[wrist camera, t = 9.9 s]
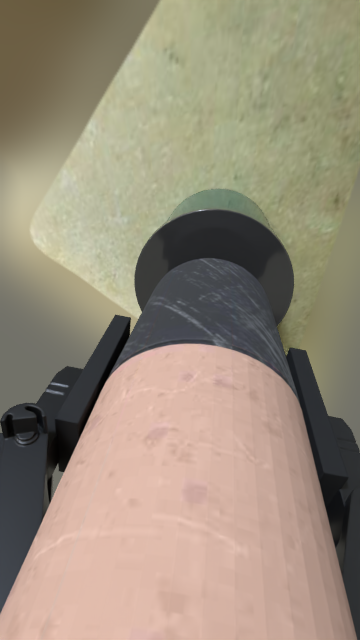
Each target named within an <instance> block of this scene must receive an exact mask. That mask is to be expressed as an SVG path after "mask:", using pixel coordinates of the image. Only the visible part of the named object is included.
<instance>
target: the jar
mask: <svg viewBox="0 0 360 640" xmlns="http://www.w3.org/2000/svg"><path fill="white" fill-rule="evenodd" d="M203 258H214V259H221V260H226V261H229V262H232V263H235V264H237V265H239V266H241V267H242V268H244V269H245V270H247V271H248V272H250V273H251V274H252V275H253V276H254V277H255V278H256V279H257V280H258V281H259V283H260V284H261V285H262V287H263V289H264V291H265V293H266V295H267V298H268V300H269V303H270V306H271V309H272V312H273V316H274V319H275V322H276V325H277V326H278V325H279V323H280V322H281V321H282V319H283V318H284V316H285V314H286V312H287V310H288V308H289V306H290V303H291V299H292V296H293V289H294V274H293V269H292V264H291V261H290V258H289V255H288V253H287V251H286V249H285V247H284V245H283V244H282V242H281V241H280V239H279V238H278V237H277V235H276V234H275V233H274V232H273V231H272V230H271V228H270V226H269V223H268V221H267V219H266V217H265V215H264V213H263V212H262V210H261V209H260V208H259V207H258V206H257V205H256V204H255V203H254V202H253V201H252V200H251V199H249V198H248V197H246V196H244V195H242V194H240V193H238V192H235V191H231V190H226V189H211V190H205V191H202V192H199V193H196V194H194V195H192V196H190V197H189V198H187V199H185V200H184V201H183V202H182V203H181V204H179V205H178V207H177V208H176V209H175V210H174V211H173V213H172V214H171V216H170V217H169V219H168V220H167V222H166V223H164V224H163V225H162V226H161V227H160V228H158V229H157V230H156V231H155V232H154V234H153V235H152V236H151V237H150V238H149V240H148V241H147V243H146V244H145V246H144V247H143V249H142V251H141V254H140V256H139V258H138V261H137V265H136V270H135V292H136V297H137V300H138V304H139V306H140V308H141V311H142V312H143V310H144V308H145V306H146V304H147V302H148V300H149V298H150V296H151V295H152V293H153V291H154V289H155V287H156V286H157V284H158V283H159V282H160V280H161V279H162V278H163V277H164V276H165V275H166V274H167V273H168V272H169V271H171V270H172V269H174V268H175V267H177V266H179V265H181V264H183V263H185V262H188V261H192V260H196V259H203Z"/></svg>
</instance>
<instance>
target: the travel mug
mask: <svg viewBox="0 0 360 640" xmlns="http://www.w3.org/2000/svg"><path fill="white" fill-rule="evenodd" d="M0 640H357V636H356V632H355V628H354V624H353V620H352V616H351V612H350V607H349V603H348V599H347V595H346V591H345V587H344V583H343V578H342V574H341V570H340V566H339V562H338V558H337V554H336V549H335V545H334V541H333V537H332V533H331V529H330V525H329V521H328V516H327V512H326V508H325V504H324V500H323V496H322V492H321V487H320V483H319V479H318V475H317V471H316V467H315V463H314V458H313V454H312V450H311V446H310V442H309V438H308V434H307V429H306V425H305V421H304V417H303V413H302V409H301V407H300V402H299V398H298V395H297V392H296V389H295V385H294V382H293V379H292V375H291V372H290V369H289V365H288V362H287V359H286V355H285V352H284V349H283V345H282V342H281V339H280V335H279V332H278V329H277V325H276V322H275V319H274V316H273V312H272V309H271V306H270V303H269V300H268V298H267V295H266V293H265V291H264V289H263V287H262V285H261V284H260V283H259V281H258V280H257V279H256V278H255V277H254V276H253V275H252V274H251V273H250V272H248V271H247V270H245V269H244V268H242V267H241V266H239V265H237V264H235V263H232V262H229V261H226V260H221V259H214V258H203V259H196V260H192V261H188V262H185V263H183V264H181V265H179V266H177V267H175V268H174V269H172V270H171V271H169V272H168V273H167V274H166V275H165V276H164V277H163V278H162V279H161V280H160V282H159V283H158V284H157V286H156V287H155V289H154V291H153V293H152V295H151V296H150V298H149V300H148V302H147V304H146V306H145V308H144V310H143V312H142V314H141V315H140V317H139V319H138V321H137V323H136V325H135V327H134V329H133V331H132V333H131V335H130V337H129V338H128V340H127V342H126V344H125V346H124V348H123V350H122V352H121V354H120V356H119V358H118V360H117V361H116V363H115V365H114V367H113V369H112V371H111V373H110V375H109V377H108V379H107V381H106V383H105V385H104V387H103V389H102V391H101V393H100V395H99V397H98V399H97V401H96V404H95V406H94V408H93V410H92V412H91V415H90V417H89V419H88V421H87V423H86V426H85V428H84V430H83V432H82V434H81V437H80V439H79V441H78V443H77V445H76V448H75V450H74V452H73V454H72V456H71V459H70V461H69V463H68V465H67V467H66V470H65V472H64V474H63V476H62V478H61V481H60V483H59V485H58V487H57V489H56V492H55V494H54V496H53V498H52V500H51V502H50V505H49V507H48V509H47V511H46V513H45V516H44V518H43V521H42V523H41V525H40V528H39V530H38V532H37V534H36V536H35V539H34V541H33V543H32V545H31V547H30V550H29V552H28V554H27V556H26V558H25V561H24V563H23V565H22V567H21V569H20V572H19V574H18V576H17V578H16V580H15V583H14V585H13V587H12V589H11V591H10V594H9V596H8V598H7V600H6V602H5V605H4V607H3V609H2V611H1V613H0Z"/></svg>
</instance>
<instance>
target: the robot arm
mask: <svg viewBox="0 0 360 640" xmlns="http://www.w3.org/2000/svg"><path fill="white" fill-rule="evenodd" d="M130 320H131V318H130V317H124V316H119V315H115V316H114V318H113V320H112V321H111V323H110V325H109V327H108V328H107V330H106V332H105V334H104V335H103V337H102V339H101V340H100V342H99V344H98V345H97V347H96V349H95V351H94V352H93V354H92V356H91V357H90V359H89V361H88V362H87V364H86V366H85V368H84V369H79V368H74V367H69V366H67V367H65V368H64V369H62V370H61V371H60V372H58V373H57V374H56V375H55V377H54V378H53V380H52V381H51V383H50V384H49V386H48V387H47V389H46V391H45V392H44V393H43V394H42V396H41V397H40V399H39V400H38V402H37V403H36V404H35V403H24V404H19V405H16V406H14V407H12V408H10V409H9V410H8V411H7V412H5V414H4V415H3V416H2V418H1V421H0V423H1V427H2V432H3V433H0V613H1V611H2V609H3V607H4V605H5V602H6V600H7V598H8V596H9V594H10V591H11V589H12V587H13V585H14V583H15V580H16V578H17V576H18V574H19V572H20V569H21V567H22V565H23V563H24V561H25V558H26V556H27V554H28V552H29V550H30V547H31V545H32V543H33V541H34V539H35V536H36V534H37V532H38V530H39V528H40V525H41V523H42V521H43V518H44V516H45V513H46V511H47V509H48V507H49V505H50V502H51V500H52V492H53V475H52V474H53V472H54V470H55V468H56V466H57V464H59V471H61V472H65V470H66V467H67V465H68V463H69V461H70V459H71V456H72V454H73V452H74V450H75V448H76V445H77V443H78V441H79V439H80V437H81V434H82V432H83V430H84V428H85V426H86V423H87V421H88V419H89V417H90V415H91V412H92V410H93V408H94V406H95V404H96V401H97V399H98V397H99V395H100V393H101V391H102V389H103V387H104V385H105V383H106V381H107V379H108V377H109V375H110V373H111V371H112V369H113V367H114V365H115V363H116V361H117V360H118V358H119V356H120V354H121V352H122V350H123V348H124V346H125V344H126V342H127V340H128V338H129V335H130ZM286 359H287V362H288V365H289V369H290V372H291V375H292V379H293V382H294V385H295V389H296V392H297V395H298V398H299V402H300V407H301V409H302V413H303V417H304V421H305V425H306V429H307V434H308V438H309V442H310V446H311V450H312V454H313V458H314V463H315V467H316V471H317V475H318V479H319V483H320V487H321V492H322V496H323V500H324V504H325V508H326V512H327V516H328V521H329V525H330V529H331V533H332V537H333V541H334V545H335V549H336V554H337V558H338V562H339V566H340V570H341V574H342V578H343V583H344V587H345V591H346V595H347V599H348V603H349V607H350V612H351V616H352V620H353V624H354V628H355V632H356V636H357V640H360V453H359V448H358V446H357V444H356V441H355V438H354V436H353V433H352V431H351V429H350V428H349V427H348V425H347V424H346V423H345V422H344V420H343V419H341V418H336V417H331V416H328V414H327V411H326V408H325V406H324V403H323V400H322V397H321V394H320V391H319V388H318V385H317V382H316V379H315V376H314V373H313V370H312V367H311V364H310V362H309V358H308V355H307V352H306V351H305V350H300V349H295V348H290V349H289V351H288V354H287V356H286Z"/></svg>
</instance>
